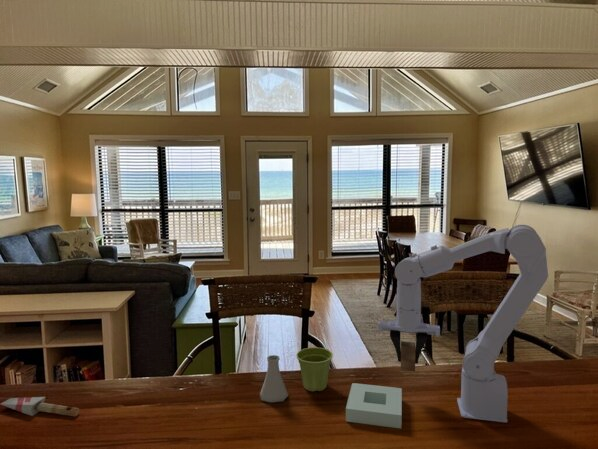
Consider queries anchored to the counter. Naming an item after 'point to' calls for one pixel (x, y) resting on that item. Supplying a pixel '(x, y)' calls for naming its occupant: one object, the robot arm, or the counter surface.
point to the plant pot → (314, 367)
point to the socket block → (375, 405)
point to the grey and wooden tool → (38, 406)
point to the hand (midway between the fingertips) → (407, 361)
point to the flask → (273, 382)
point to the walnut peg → (408, 356)
